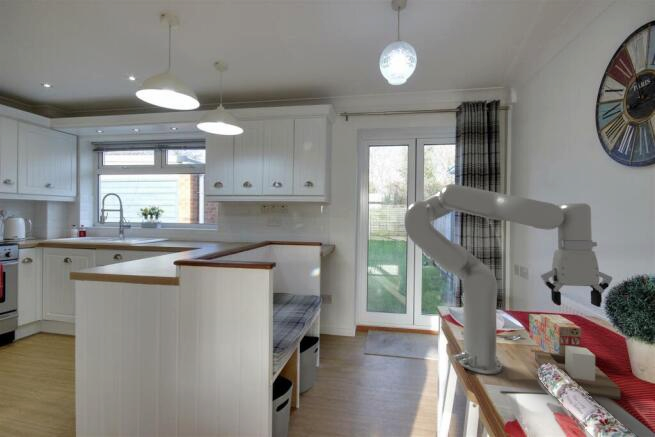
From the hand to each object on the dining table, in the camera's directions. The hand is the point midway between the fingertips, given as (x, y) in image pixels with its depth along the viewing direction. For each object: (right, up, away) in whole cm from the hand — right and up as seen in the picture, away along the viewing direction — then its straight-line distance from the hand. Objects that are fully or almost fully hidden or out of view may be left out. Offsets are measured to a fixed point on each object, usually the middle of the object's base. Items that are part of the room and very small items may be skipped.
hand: (576, 304), depth 86 cm
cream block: (-1, -19, -2) cm, 20 cm away
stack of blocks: (+9, -23, +21) cm, 32 cm away
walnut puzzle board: (+1, -22, +2) cm, 22 cm away
